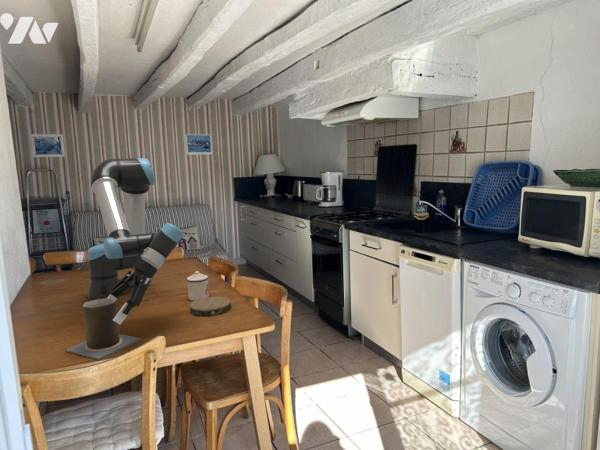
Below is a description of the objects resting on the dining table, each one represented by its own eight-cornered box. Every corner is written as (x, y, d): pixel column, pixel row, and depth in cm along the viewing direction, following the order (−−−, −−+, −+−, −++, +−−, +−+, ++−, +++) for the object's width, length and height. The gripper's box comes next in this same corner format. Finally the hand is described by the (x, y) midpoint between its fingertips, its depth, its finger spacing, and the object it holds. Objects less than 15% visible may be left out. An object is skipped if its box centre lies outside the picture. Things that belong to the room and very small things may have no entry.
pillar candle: (111, 349, 134) (107, 302, 132) (80, 350, 134) (75, 303, 132) (124, 337, 143) (120, 293, 141) (96, 338, 144) (91, 294, 142)
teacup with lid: (211, 299, 183) (209, 272, 181) (189, 302, 180) (187, 275, 178) (207, 291, 194) (205, 266, 192) (186, 294, 191) (184, 269, 189)
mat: (65, 351, 135) (64, 349, 135) (108, 333, 149) (108, 331, 149) (98, 360, 128) (98, 358, 128) (141, 340, 142) (141, 338, 142)
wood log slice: (187, 307, 174) (186, 300, 173) (226, 301, 180) (225, 294, 180) (194, 320, 159) (193, 312, 159) (236, 312, 165) (235, 305, 165)
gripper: (126, 253, 154) (86, 303, 146) (156, 262, 136) (113, 321, 128) (142, 264, 158) (104, 314, 150) (173, 275, 140) (132, 332, 132)
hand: (108, 317), depth 139 cm, fingers open, 13 cm apart
